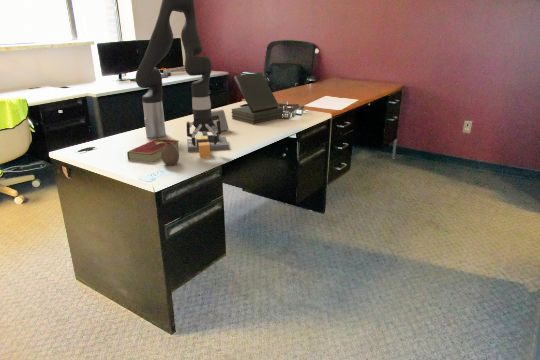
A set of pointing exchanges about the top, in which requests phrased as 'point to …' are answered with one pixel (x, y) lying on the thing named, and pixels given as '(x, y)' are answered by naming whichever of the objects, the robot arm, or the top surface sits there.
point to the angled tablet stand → (256, 100)
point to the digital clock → (221, 117)
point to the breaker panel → (219, 145)
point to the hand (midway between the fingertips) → (205, 145)
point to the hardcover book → (150, 150)
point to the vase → (170, 154)
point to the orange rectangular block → (204, 149)
